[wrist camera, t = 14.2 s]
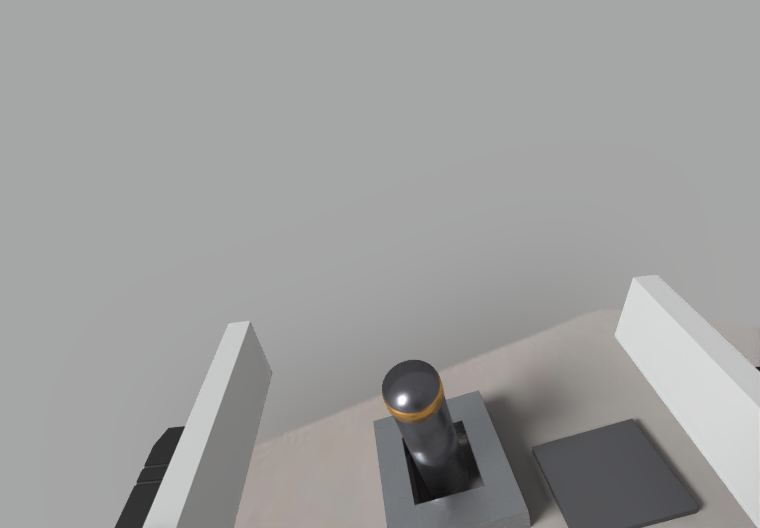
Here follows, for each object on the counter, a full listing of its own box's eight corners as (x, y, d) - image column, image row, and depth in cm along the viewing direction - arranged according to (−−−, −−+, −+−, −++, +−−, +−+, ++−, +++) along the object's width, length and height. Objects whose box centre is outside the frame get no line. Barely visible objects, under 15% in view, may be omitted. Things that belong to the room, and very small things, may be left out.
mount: (631, 424, 38) (632, 418, 37) (696, 512, 31) (699, 507, 31) (532, 452, 38) (532, 447, 38) (576, 544, 32) (577, 540, 31)
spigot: (461, 448, 40) (432, 352, 31) (476, 495, 37) (447, 401, 27) (419, 460, 41) (377, 368, 32) (429, 508, 37) (385, 419, 28)
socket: (482, 408, 43) (478, 390, 41) (530, 527, 33) (528, 511, 31) (382, 437, 44) (373, 421, 42) (400, 562, 34) (390, 549, 32)
